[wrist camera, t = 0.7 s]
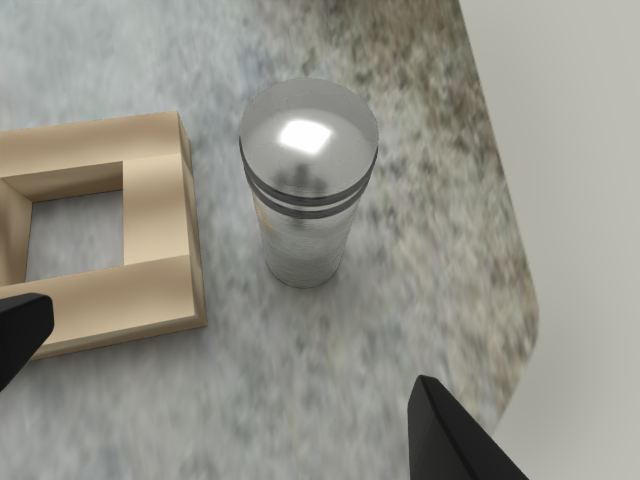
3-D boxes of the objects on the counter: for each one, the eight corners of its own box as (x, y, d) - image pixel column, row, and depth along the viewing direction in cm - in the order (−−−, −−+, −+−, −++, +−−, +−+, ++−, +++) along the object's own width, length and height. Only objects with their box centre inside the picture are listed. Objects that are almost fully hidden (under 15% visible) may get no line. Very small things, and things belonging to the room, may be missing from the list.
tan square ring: (207, 325, 22) (194, 315, 19) (-53, 377, 20) (-110, 374, 17) (189, 139, 27) (177, 110, 24) (-18, 166, 25) (-57, 138, 22)
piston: (357, 265, 24) (409, 154, 13) (287, 304, 23) (279, 216, 12) (317, 204, 26) (334, 60, 15) (250, 237, 24) (213, 105, 13)
